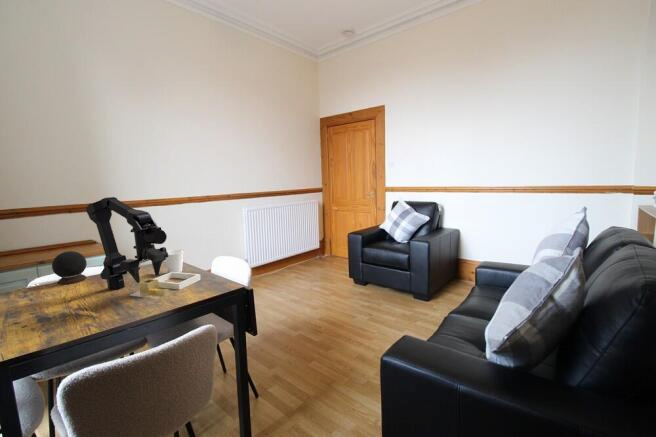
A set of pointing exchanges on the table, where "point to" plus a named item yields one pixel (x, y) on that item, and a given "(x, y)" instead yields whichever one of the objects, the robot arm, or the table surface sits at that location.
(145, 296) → the stud plate
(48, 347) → the table surface
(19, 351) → the table surface
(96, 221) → the robot arm
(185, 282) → the bin
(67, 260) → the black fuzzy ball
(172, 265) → the cup
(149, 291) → the strut
